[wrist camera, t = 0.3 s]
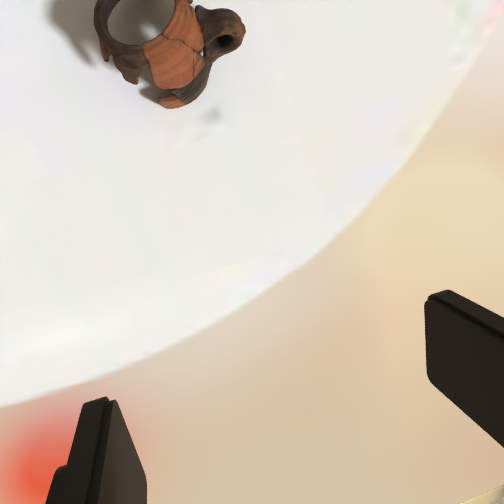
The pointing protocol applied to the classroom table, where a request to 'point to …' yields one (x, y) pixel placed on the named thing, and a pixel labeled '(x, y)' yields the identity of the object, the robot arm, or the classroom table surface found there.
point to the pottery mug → (174, 49)
